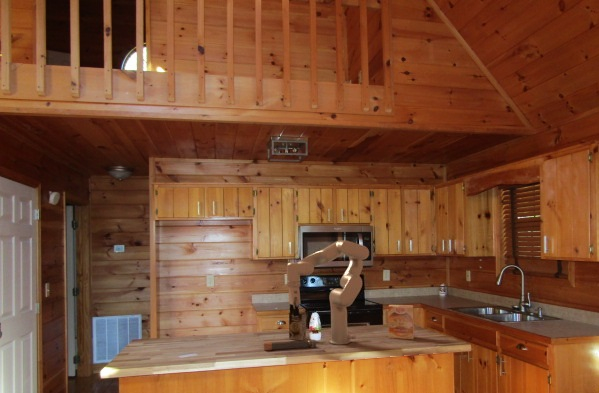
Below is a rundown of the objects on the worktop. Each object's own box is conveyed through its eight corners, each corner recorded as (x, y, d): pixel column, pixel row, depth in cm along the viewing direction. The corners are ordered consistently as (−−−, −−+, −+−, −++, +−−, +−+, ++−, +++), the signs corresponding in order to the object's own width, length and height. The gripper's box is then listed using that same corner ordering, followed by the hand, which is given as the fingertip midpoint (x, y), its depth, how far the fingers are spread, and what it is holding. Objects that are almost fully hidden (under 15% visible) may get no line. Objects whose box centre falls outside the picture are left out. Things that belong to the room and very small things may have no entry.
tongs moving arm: (311, 346, 258) (311, 340, 258) (312, 347, 256) (311, 341, 256) (264, 349, 252) (264, 343, 253) (264, 350, 250) (264, 344, 250)
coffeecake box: (388, 338, 278) (387, 306, 279) (389, 335, 284) (389, 304, 286) (413, 339, 273) (412, 306, 275) (414, 336, 280) (413, 305, 282)
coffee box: (288, 339, 278) (288, 312, 279) (293, 337, 283) (293, 310, 285) (301, 340, 274) (301, 313, 275) (306, 338, 279) (306, 311, 281)
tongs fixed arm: (314, 345, 261) (314, 339, 261) (316, 347, 257) (316, 341, 257) (263, 349, 254) (263, 342, 255) (264, 350, 250) (264, 344, 250)
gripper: (303, 285, 252) (304, 316, 251) (296, 282, 269) (297, 311, 267) (290, 286, 250) (291, 317, 249) (284, 283, 267) (284, 312, 266)
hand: (294, 314), depth 258 cm, fingers open, 9 cm apart
